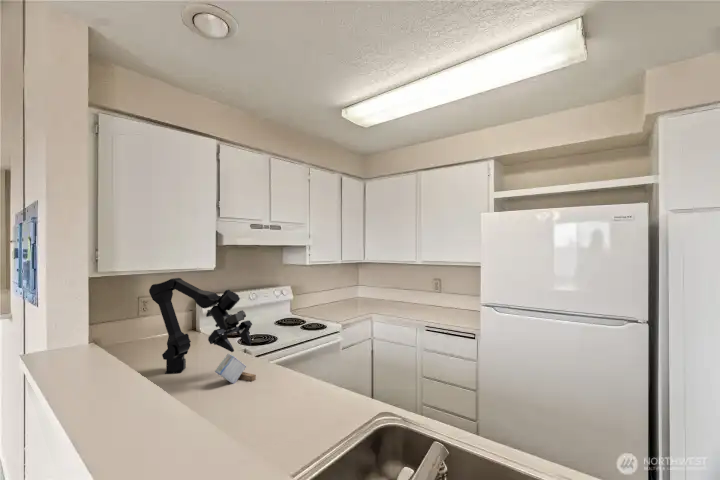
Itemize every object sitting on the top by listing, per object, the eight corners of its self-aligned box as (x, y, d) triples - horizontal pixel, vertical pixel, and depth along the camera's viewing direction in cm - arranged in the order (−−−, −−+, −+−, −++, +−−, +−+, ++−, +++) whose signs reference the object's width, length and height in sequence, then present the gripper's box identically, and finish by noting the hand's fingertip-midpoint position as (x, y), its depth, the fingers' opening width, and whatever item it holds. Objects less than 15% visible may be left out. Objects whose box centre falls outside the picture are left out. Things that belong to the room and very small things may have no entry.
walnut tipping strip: (229, 377, 137) (229, 371, 137) (233, 375, 139) (233, 369, 139) (252, 382, 132) (252, 376, 132) (255, 381, 133) (255, 374, 133)
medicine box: (240, 363, 137) (227, 352, 132) (247, 366, 134) (234, 355, 129) (228, 381, 132) (213, 371, 127) (234, 384, 130) (220, 374, 125)
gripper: (213, 309, 127) (234, 342, 122) (249, 301, 144) (269, 329, 139) (199, 327, 130) (219, 360, 125) (235, 317, 147) (254, 346, 142)
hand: (242, 348), depth 133 cm, fingers open, 9 cm apart
